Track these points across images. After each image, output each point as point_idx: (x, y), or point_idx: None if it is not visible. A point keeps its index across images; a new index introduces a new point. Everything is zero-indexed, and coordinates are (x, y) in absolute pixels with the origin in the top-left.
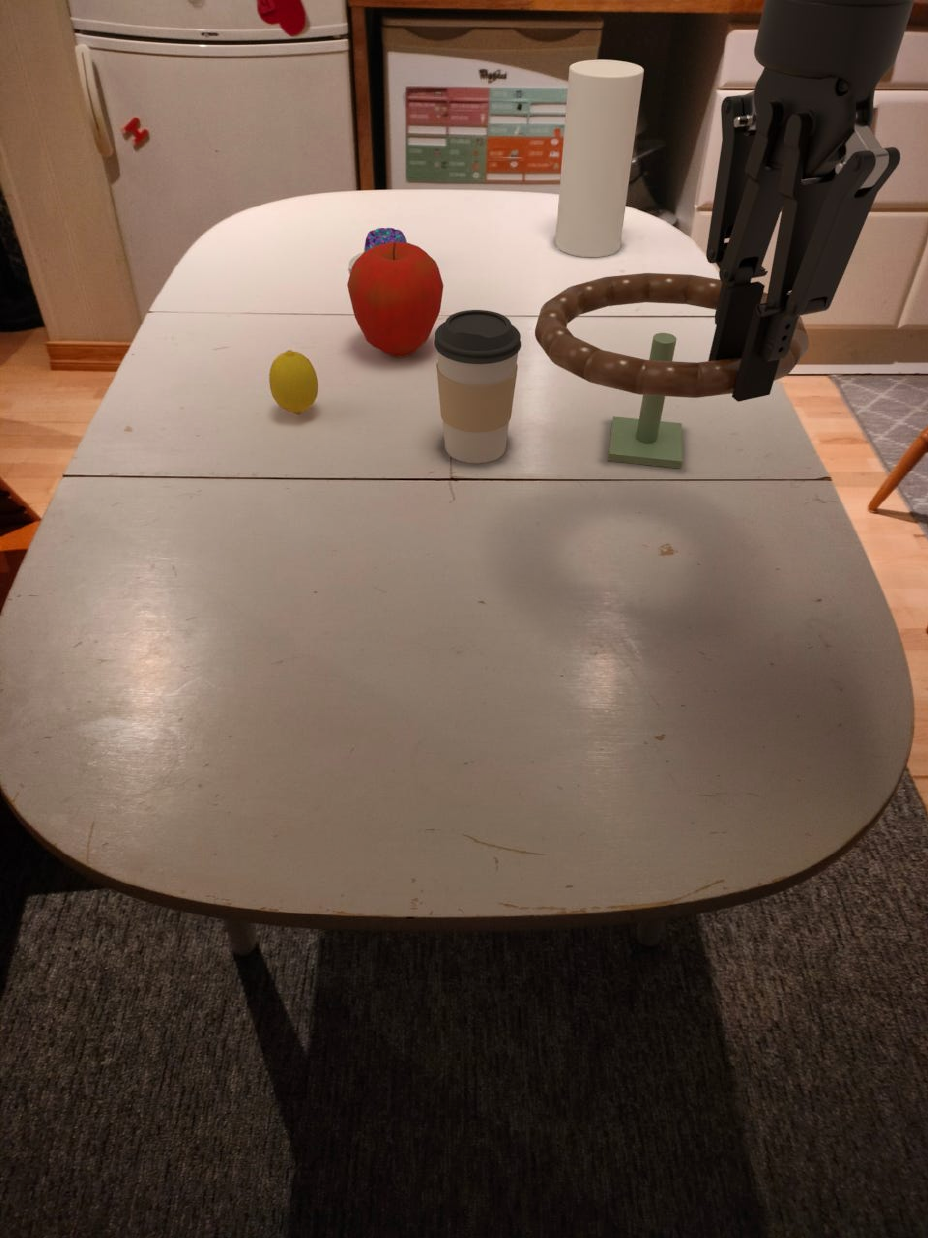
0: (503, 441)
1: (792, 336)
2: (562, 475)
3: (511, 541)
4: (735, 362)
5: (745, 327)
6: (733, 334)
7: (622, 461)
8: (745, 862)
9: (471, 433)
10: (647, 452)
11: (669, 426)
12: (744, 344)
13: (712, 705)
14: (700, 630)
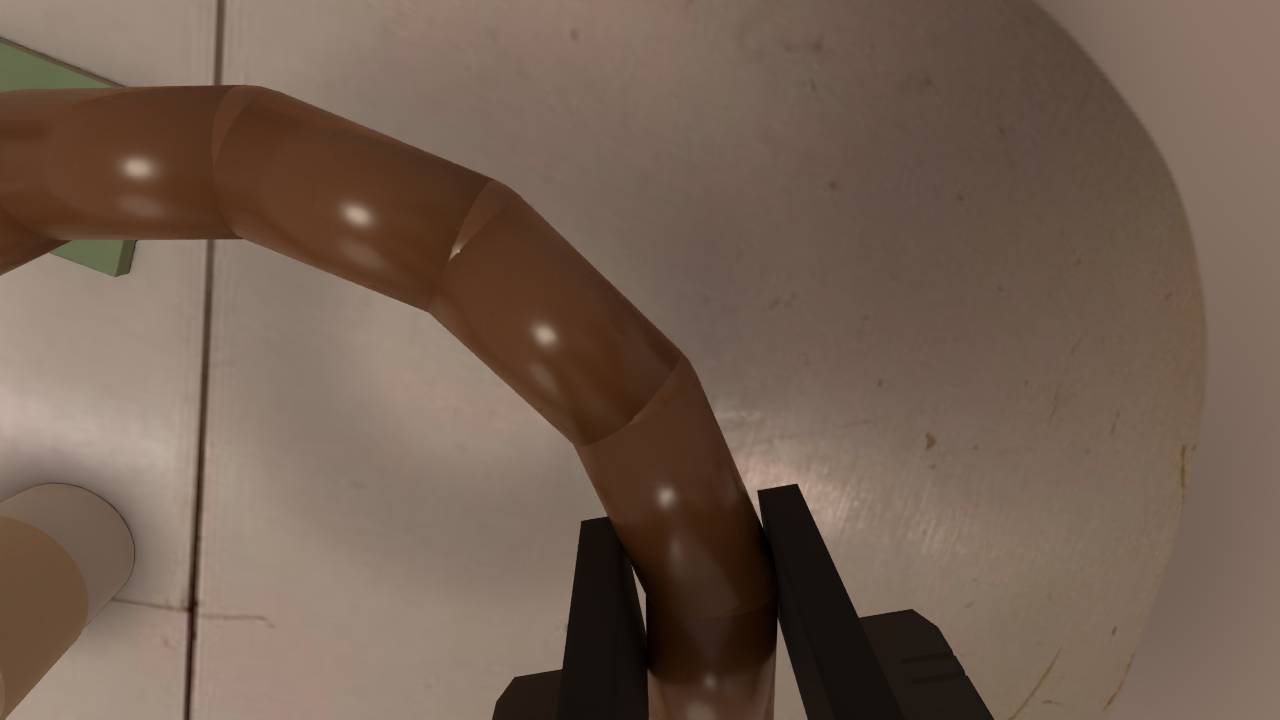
0: (80, 515)
1: (970, 682)
2: (185, 392)
3: (408, 545)
4: (728, 664)
5: (626, 673)
6: (637, 707)
7: (134, 241)
8: (1172, 405)
9: (88, 612)
10: None
11: None
12: (624, 604)
13: (894, 334)
14: (718, 282)
